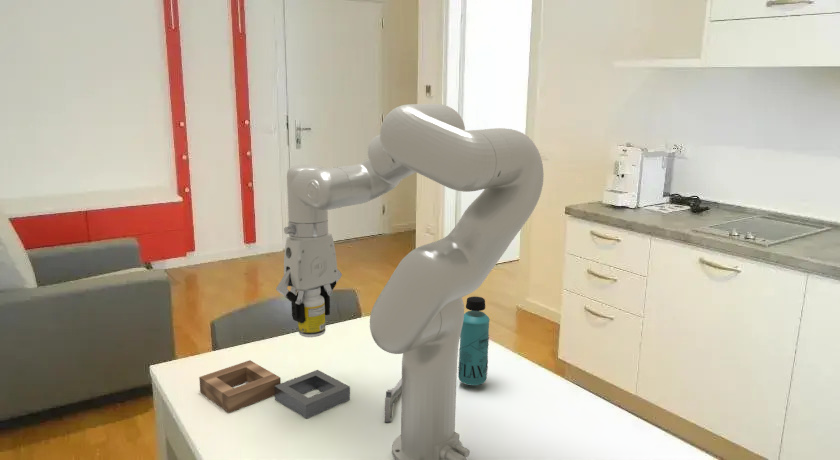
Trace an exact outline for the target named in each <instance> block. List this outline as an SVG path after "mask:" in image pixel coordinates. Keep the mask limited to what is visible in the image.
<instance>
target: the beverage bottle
mask: <svg viewBox="0 0 840 460" xmlns="http://www.w3.org/2000/svg"><path fill="white" fill-rule="evenodd" d="M465 309H467V310H468V311H466V312H464V320H463V325H462V330H461V334H460V339H459V349H458V360H457V366H458V369H457V372H458V374H457V376H458V379H459V381H460V382H461V383H462V384H465V385H469V386H479V385H482V384H484V383H486V381H487V379H488V371H489V366H488V364H489V356H488V355H489V345H490V344H489V340H490V334H489V331H490V320H491V319H490V318H489V316H488V315H487V314H486V313H485V312H483V311H484V310H485V309H486V299H485V298H484V297H482V296H469V297H467V299H466V303H465Z"/></svg>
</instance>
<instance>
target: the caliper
mask: <svg viewBox="0 0 840 460" xmlns="http://www.w3.org/2000/svg"><path fill="white" fill-rule="evenodd" d="M401 393H402V377H401V378H400V379H399V381H398V382H397V383H396V385H395V386H394V387H392V388H391V389H387V391H385V398H384V412H383V413H384V415H383V417H384V422H385V423H390V422H391V419H393V411H394V404H396V403H397V401H398V396H399V395H400V394H401Z"/></svg>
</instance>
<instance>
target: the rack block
mask: <svg viewBox="0 0 840 460" xmlns="http://www.w3.org/2000/svg"><path fill="white" fill-rule="evenodd" d="M198 379H199V392H200V394H202V395H203V396H205V397H206V398H207V399H209V400H210V401H212V402H214V403H215V404H216V405H217V406H219V407H220V408H222V409H223V410H224V411H226V412H227V413H229V414H230V413H233V412H235V411H238V410H241V409H243V408H245V407H249V406H250V405H254V404H256V403H259V402H261V401H264V400H266V399H268V398H271V397H275V390H274V386H276V385H278V384H281V383H282V381H281V380H282V379H281V377H280V376H279V375H276V374H275V373H273V372H271V371H270V370H268V369H267V368H264V367H262V365H259V364H257V363H256V362H254V361H253V360H251V359H249V360H246V361H243V362H240V363H237V364H234V365H231V366H229V367H228V366H227V367H225V368H223V369H219V370H217V371H213V372H210V373H207V374H205V375H201V376H199V377H198ZM244 383H245V384H244ZM238 385H239V386H238Z"/></svg>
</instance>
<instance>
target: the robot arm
mask: <svg viewBox="0 0 840 460" xmlns="http://www.w3.org/2000/svg"><path fill="white" fill-rule="evenodd" d="M465 127H466V126H465V122H464V120H463V118H462V116H461V115H460V114H459V112H457V110H455V109H454V108H452V107H450V106H448V105H446V104H441V103H417V104H416V103H413V104H412V103H410V104H409V103H408V104H402V105H400V106H399V105H398V106H397V107H394V108H393V109H392V110H390V112H389V113H387V115H385V117H384V118H383V120H382V123H381V125H380V129H379V134H377V135H375V136H374V137H373V138H371V140H370V142H369V143H368V147H367V159H366V160H363V161H361V162H360V163H359V162H358V163H356V164H352V165H342V166H334V167H326V168H324V167H323V166H321V165H319V164H318V165H317V164H299V165H294V166H291V167H289V169H288V170H287V171H286V187H287V189H286V190H287V211H288V212H287V213H288V214H287V215H288V223H287V225H288V226H285V227H284V228H283V231H284V234H286V235H288V237H286V241H285V246H284V254H283V255H284V256H283V257H284V258H283V276H282V279H281V280H280V281H279V283H278V285H277V286H276V292H278V293H279V294H281V295H283V297H285V298H286V299H287V300H288V301H289V302H290V303H291V304H290V305H291V316H292V320H293V321H296V322H297V323H298V322H300V323H304V322H305V311H304V303H301V302H302V298H303V294H304V290H308V289H312V288H316V287H320V288H321V293H320V295H321V296H323V297H324V301H325V316H330V313H331V312H330V311H331V309H330V308H331V299H330V298H331V297H330V296H332V295H333V290H334V289H335V287H336V286H337V283H338V282H339V281H340V279H341V278H342V276H343V274H342V272H341V271H340V270H339V269H338V262H337V254H336V248H335V247H336V246H335V242H334V239H333V235H332V233H329V220H328V219H329V216H328V215H329V213H328V211H330V210H336V209H340V208H341V209H342V208H346V207H350V206H356V205H361V204H366V203H368V202H370V201H373V200H374V199H377V198H379V197H382V196H383V195H385V194H387V193H389V192H390V191H393V190H394V189H395V188H396V187H397V186H398V185H399V184H400V183H401V182H402V180H403V179H406V178H408V177H410V176H412V175H413V174H415V173H417V174H419V175H422V177H425V178H427V179H430V180H432V181H433V182H435V183H438V184H439V185H442V186H444V187H446V188H448V189H450V190H454V191H458V192H476V191H481V190H482V192H481V193H480V194H479V195H478V196H477V197H476V198H475V199H474V200H473V202H471V203H470V204H469V205H468V207H467V208H466V209H465V210H464V212H463V214H462V216H461V217H460V218H459V220H458V222H457V223H456V225H455V226H454V228H453V229H452V230H451V231H450V233H448V235H446V236H445V237H443V238H441V239H438V240H436V241H432V242H430V243H427V244H424V245H420V246H418V247H416V248H414V249H412V250H411V251H409V253H407V254H406V255H405V256H404V257H403V258H402V259H401V260H400V262H399V263H398V265H397V266H396V268H395V269H394V271H393V273H392V274H391V276H390V278H389V279H388V281H387V282H386V284H385V286H384V287H383V289H382V290H381V292H380V294H379V295H378V296H377V298H376V300H375V302H374V305H373V306H372V308H371V312H370V316H369V329H370V334H371V337H372V339H373V341H374V343H375V344H376V345H377V346H378V347H379V348H380V349H381V350H382V351H384V352H386V353H389V354H392V355H401V354H402V359H401V378H402V391H401V404H400V405H401V409H400V410H401V419H400V424H401V425H400V431H401V432H400V434H399V435H398V436H397V437H396V438H395V439H394V441H393V443H392V445H391V446H392V447H391V454H392V457H393V459H394V460H467V458H468V457H469V456H470V453H471V450H470V449H468V447H467V448H466V447H464V446H463V443H462V441H461V440H460V433H458V432H456V412H457V411H456V407H457V406H456V404H457V403H456V401H457V376H458V358H459V347H460V334H461V330H462V325H463V320H464V314H465V304H464V300H463V298H464V297H465V296H468V295H470V294H472V293H474V292H475V291H476V290H478V289H479V288H480V286H482V284H483V283H484V281H486V278H487V277H488V276H489V274H490V273H491V272H492V270H493V269H494V268H495V266H497V265H496V264H497V263H498V262H499V260H500V259H501V258H502V257H503V255H504V253H506V251H507V249H508V247H509V246H510V244H511V243H512V242H513V240H514V239H515V238H516V236H517V234H519V232H520V231H521V229H522V228H523V227H524V225H525V224H526V223H527V221H528V220H529V218H530V217H531V215H532V214H533V212H534V210H535V208H537V207H536V206H537V205H538V202H539V200H540V197H541V194H542V191H543V185H544V166H543V165H544V164H543V160H542V157H541V153H540V151H539V149H538V147H537V146H536V144H535V142H534V141H533V140H532V139H531V138H530V137H529V136H527V135H526V134H525V133H524V132H521V131H519V130H516V129H512V128H505V127H501V128H500V127H498V128H497V127H496V128H485V129H471V130H466V128H465ZM288 287H290V290H289V288H288Z"/></svg>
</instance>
